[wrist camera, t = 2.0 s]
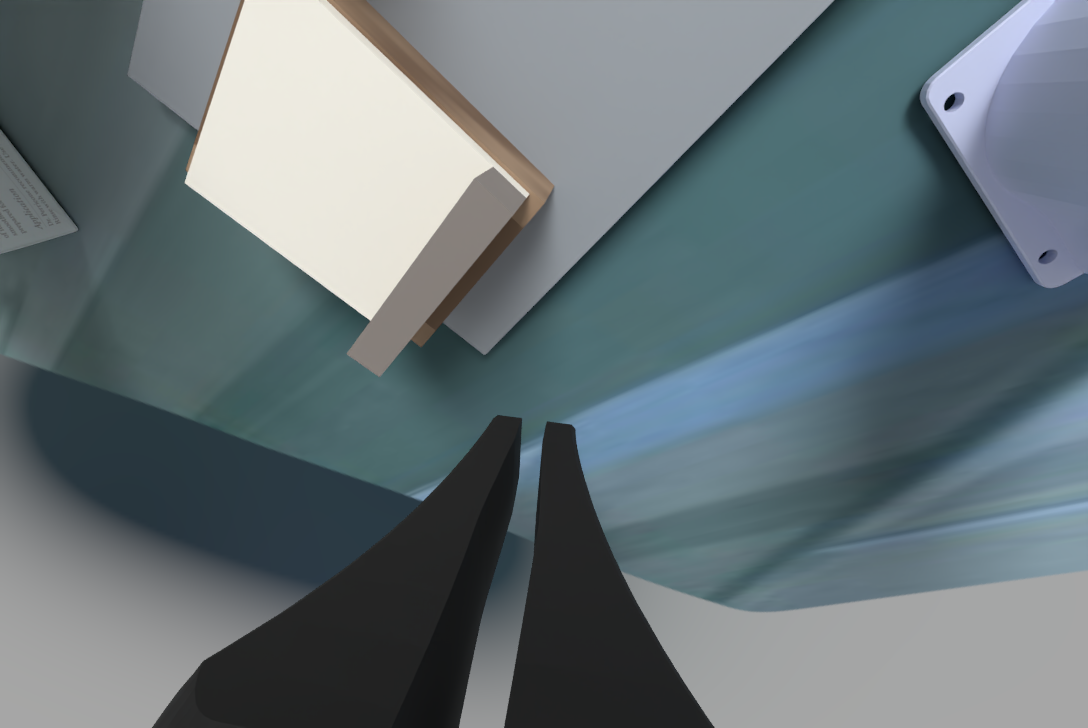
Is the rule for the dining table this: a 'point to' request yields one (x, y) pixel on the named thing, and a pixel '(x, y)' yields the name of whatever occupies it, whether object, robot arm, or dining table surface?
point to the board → (537, 101)
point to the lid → (347, 169)
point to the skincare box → (26, 204)
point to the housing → (464, 114)
